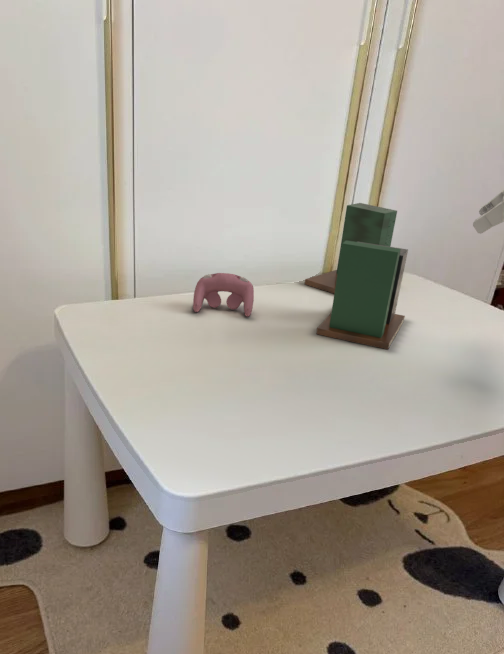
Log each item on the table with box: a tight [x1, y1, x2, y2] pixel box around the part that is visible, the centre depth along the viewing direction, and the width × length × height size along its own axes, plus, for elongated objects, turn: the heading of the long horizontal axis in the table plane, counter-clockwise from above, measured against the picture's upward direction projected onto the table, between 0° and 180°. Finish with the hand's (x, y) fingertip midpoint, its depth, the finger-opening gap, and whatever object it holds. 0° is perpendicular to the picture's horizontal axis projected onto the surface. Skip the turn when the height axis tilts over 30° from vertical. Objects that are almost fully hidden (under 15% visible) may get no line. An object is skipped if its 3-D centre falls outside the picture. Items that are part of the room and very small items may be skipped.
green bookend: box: [304, 202, 398, 294], centre depth 117 cm, size 11×14×14 cm
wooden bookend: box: [316, 242, 409, 350], centre depth 98 cm, size 11×14×12 cm
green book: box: [329, 240, 401, 338], centre depth 94 cm, size 8×2×13 cm, turn 65°
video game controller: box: [192, 272, 255, 317], centre depth 104 cm, size 10×5×7 cm, turn 83°
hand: (478, 221), depth 84 cm, fingers open, 8 cm apart
